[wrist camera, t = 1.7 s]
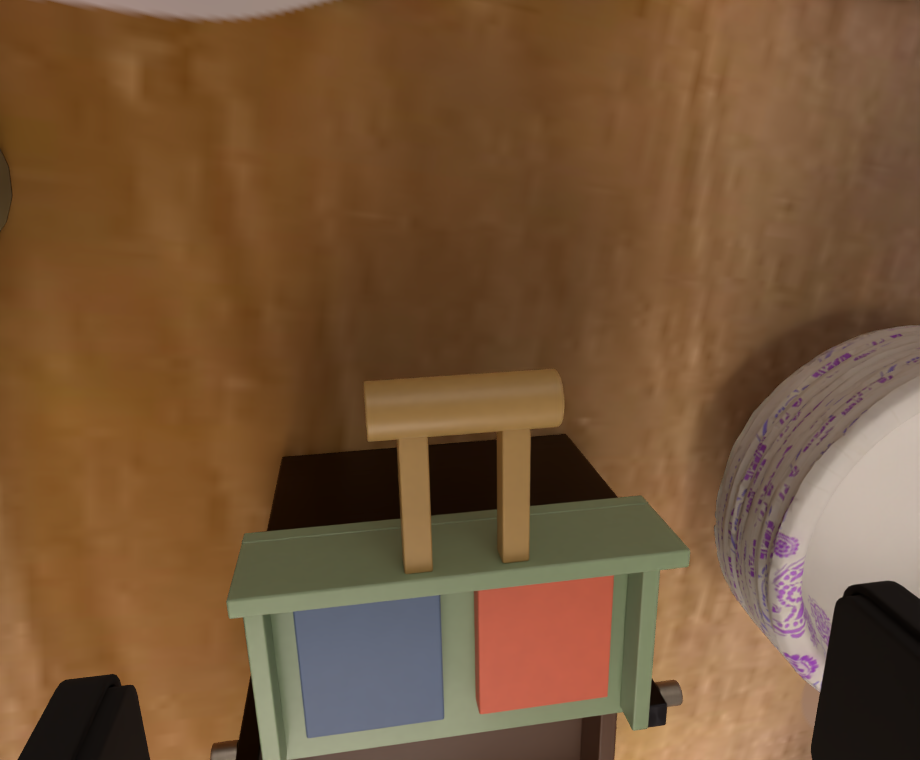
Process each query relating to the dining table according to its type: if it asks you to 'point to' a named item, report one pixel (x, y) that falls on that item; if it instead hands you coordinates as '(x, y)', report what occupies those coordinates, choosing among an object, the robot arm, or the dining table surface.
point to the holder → (506, 744)
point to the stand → (451, 491)
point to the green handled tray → (453, 563)
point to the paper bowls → (825, 492)
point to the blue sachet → (370, 665)
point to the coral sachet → (542, 643)
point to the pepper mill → (4, 191)
